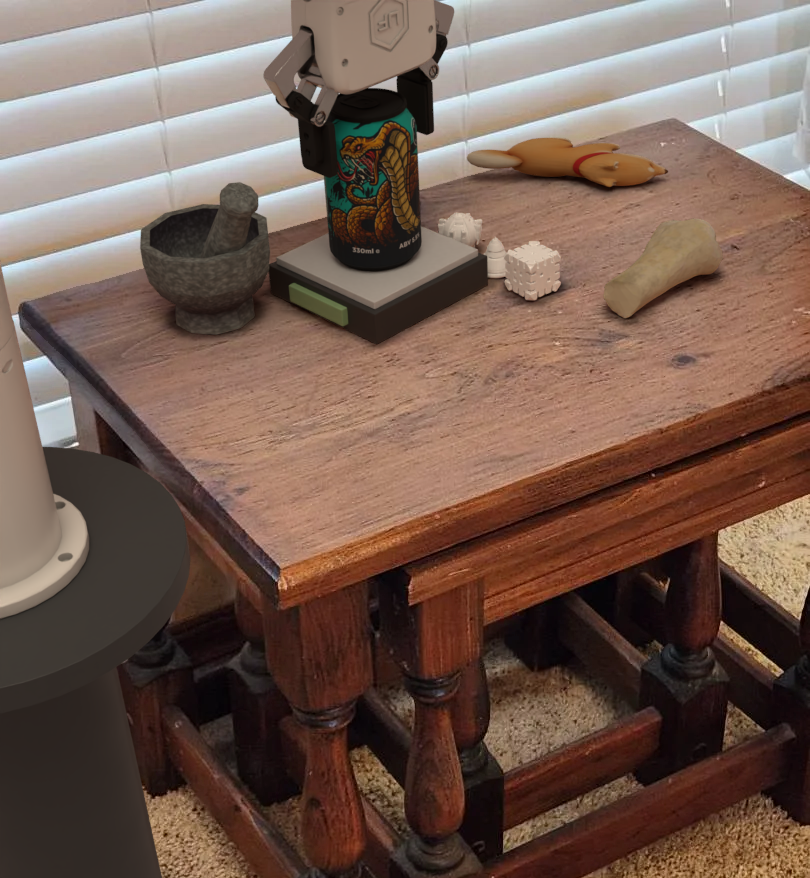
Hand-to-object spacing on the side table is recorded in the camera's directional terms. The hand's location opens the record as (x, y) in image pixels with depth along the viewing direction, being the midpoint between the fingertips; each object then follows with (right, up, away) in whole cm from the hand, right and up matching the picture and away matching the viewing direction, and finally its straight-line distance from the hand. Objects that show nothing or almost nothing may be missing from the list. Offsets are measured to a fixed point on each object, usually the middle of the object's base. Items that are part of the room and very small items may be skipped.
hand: (369, 150), depth 114 cm
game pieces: (+10, -7, +9) cm, 15 cm away
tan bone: (+22, -9, +5) cm, 24 cm away
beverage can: (0, -7, +5) cm, 8 cm away
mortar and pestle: (-11, -12, +5) cm, 17 cm away
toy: (+17, +5, +22) cm, 28 cm away
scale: (+1, -9, +7) cm, 12 cm away
